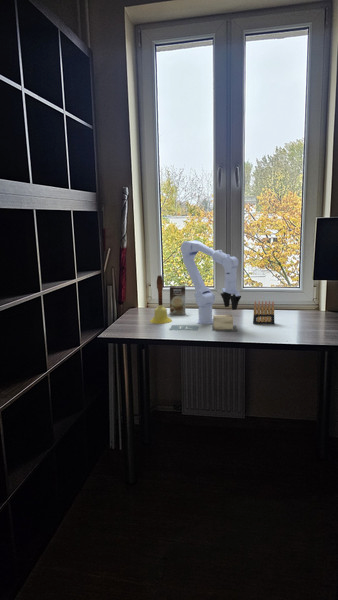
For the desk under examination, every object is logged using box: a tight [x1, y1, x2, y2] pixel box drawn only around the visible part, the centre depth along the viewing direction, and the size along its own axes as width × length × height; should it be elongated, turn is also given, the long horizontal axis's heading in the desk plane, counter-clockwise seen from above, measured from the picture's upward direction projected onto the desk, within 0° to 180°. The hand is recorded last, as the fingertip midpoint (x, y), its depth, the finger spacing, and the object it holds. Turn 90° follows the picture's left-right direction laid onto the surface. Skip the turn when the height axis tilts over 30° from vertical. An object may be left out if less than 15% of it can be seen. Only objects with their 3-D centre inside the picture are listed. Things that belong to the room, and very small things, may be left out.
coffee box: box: [169, 285, 186, 316], centre depth 239 cm, size 9×6×16 cm
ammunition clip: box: [252, 300, 276, 325], centre depth 212 cm, size 11×2×12 cm, turn 86°
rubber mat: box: [211, 324, 238, 332], centre depth 205 cm, size 10×12×1 cm
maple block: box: [212, 314, 234, 330], centre depth 205 cm, size 5×9×6 cm, turn 91°
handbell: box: [149, 274, 173, 325], centre depth 221 cm, size 12×12×25 cm
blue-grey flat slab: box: [169, 324, 200, 331], centre depth 208 cm, size 10×14×1 cm
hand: (230, 308), depth 207 cm, fingers open, 7 cm apart
